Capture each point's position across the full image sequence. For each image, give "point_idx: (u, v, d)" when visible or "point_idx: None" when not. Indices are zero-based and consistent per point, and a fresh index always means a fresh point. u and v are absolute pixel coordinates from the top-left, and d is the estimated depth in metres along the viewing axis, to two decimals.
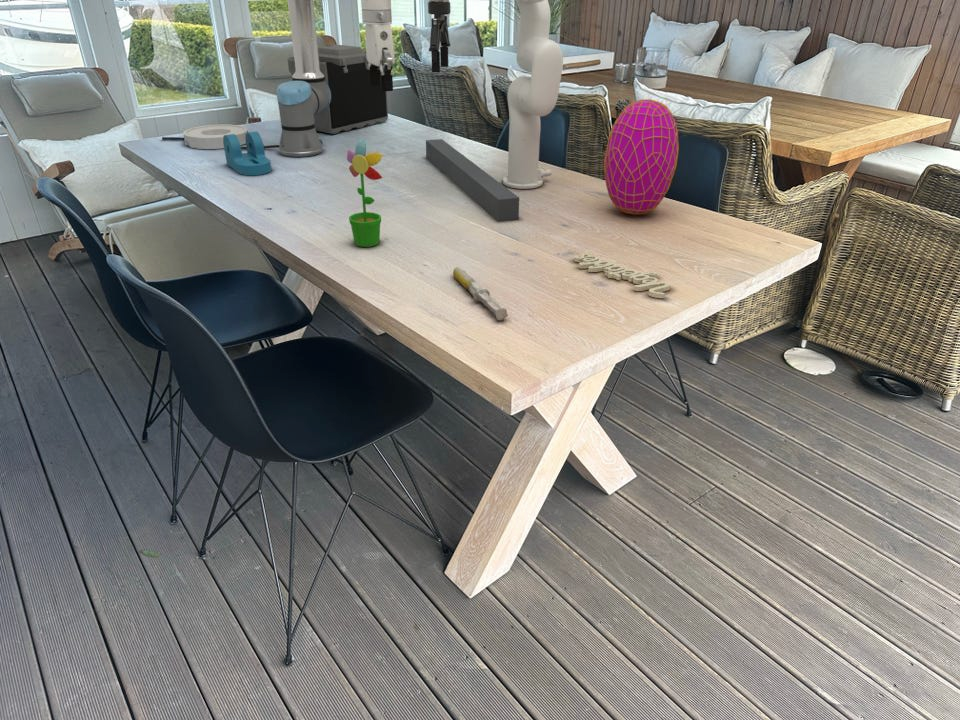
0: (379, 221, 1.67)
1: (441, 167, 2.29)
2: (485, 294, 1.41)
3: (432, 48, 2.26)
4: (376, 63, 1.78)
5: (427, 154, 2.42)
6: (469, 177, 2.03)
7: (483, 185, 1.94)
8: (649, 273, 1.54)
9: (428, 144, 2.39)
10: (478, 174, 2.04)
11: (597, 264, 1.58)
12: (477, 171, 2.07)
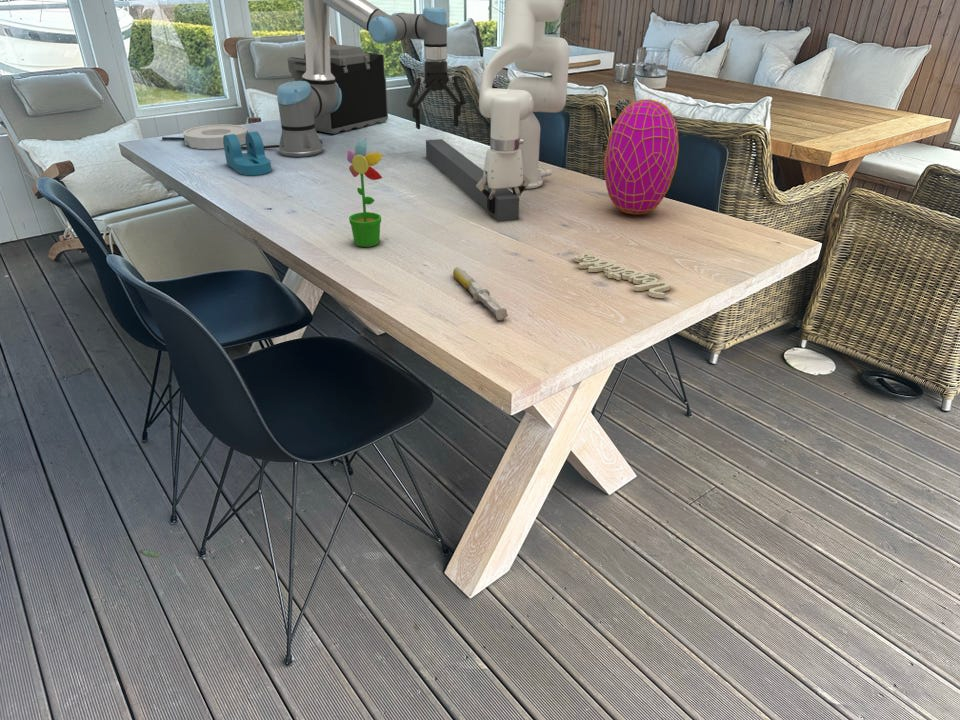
0: (379, 221, 1.67)
1: (441, 167, 2.29)
2: (485, 294, 1.41)
3: None
4: (518, 184, 1.86)
5: (427, 154, 2.42)
6: (469, 177, 2.03)
7: None
8: (649, 273, 1.54)
9: (428, 144, 2.39)
10: (478, 174, 2.04)
11: (597, 264, 1.58)
12: (477, 171, 2.07)
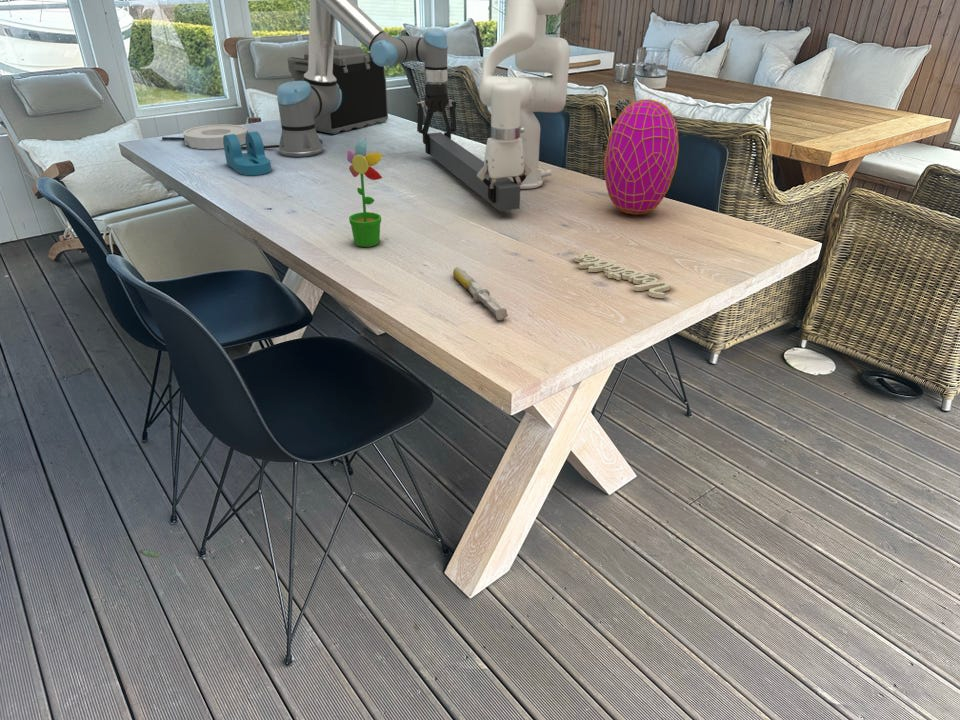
0: (379, 221, 1.67)
1: (440, 159, 2.28)
2: (485, 294, 1.41)
3: None
4: (519, 173, 1.85)
5: None
6: (469, 168, 2.02)
7: (484, 175, 1.94)
8: (649, 273, 1.54)
9: None
10: (478, 165, 2.03)
11: (597, 264, 1.58)
12: (477, 162, 2.06)
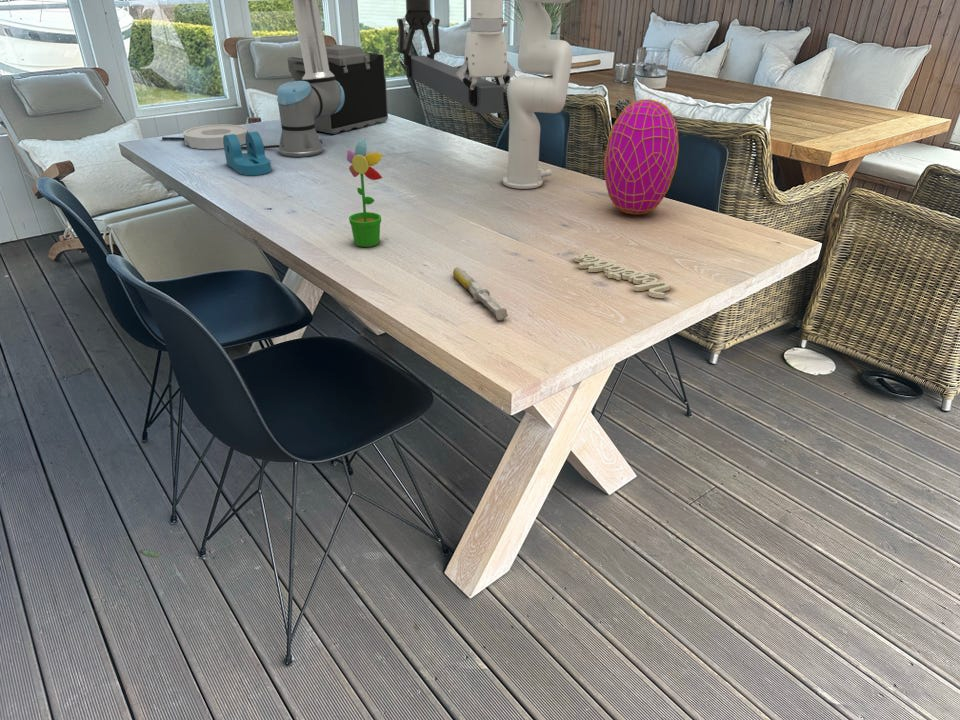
0: (379, 221, 1.67)
1: (422, 79, 2.13)
2: (485, 294, 1.41)
3: None
4: (502, 73, 1.70)
5: None
6: (450, 76, 1.87)
7: None
8: (649, 273, 1.54)
9: None
10: None
11: (597, 264, 1.58)
12: None
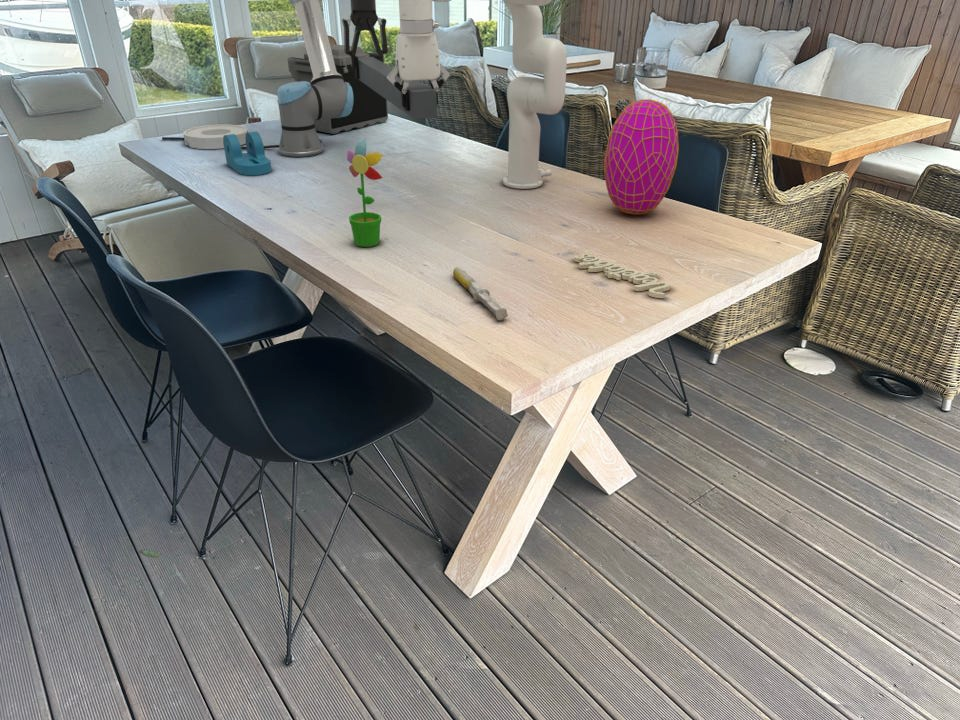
0: (379, 221, 1.67)
1: (367, 81, 2.07)
2: (485, 294, 1.41)
3: None
4: (435, 76, 1.64)
5: None
6: None
7: (400, 83, 1.73)
8: (649, 273, 1.54)
9: None
10: None
11: (597, 264, 1.58)
12: None
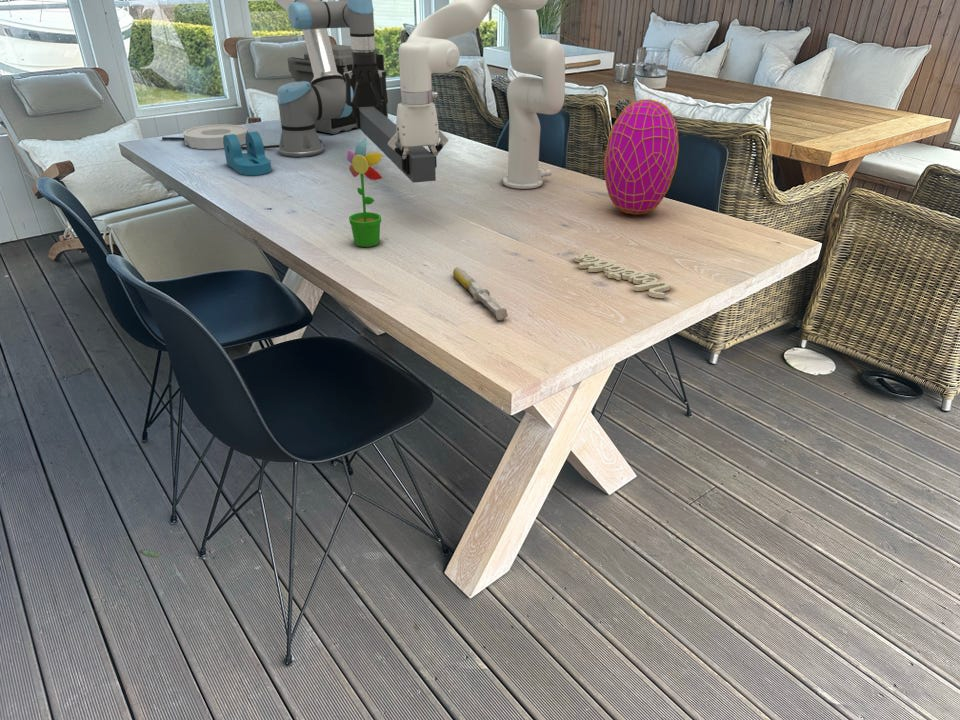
0: (379, 221, 1.67)
1: (368, 133, 2.15)
2: (485, 294, 1.41)
3: None
4: (434, 142, 1.71)
5: None
6: (389, 139, 1.89)
7: (400, 145, 1.80)
8: (649, 273, 1.54)
9: None
10: None
11: (597, 264, 1.58)
12: None
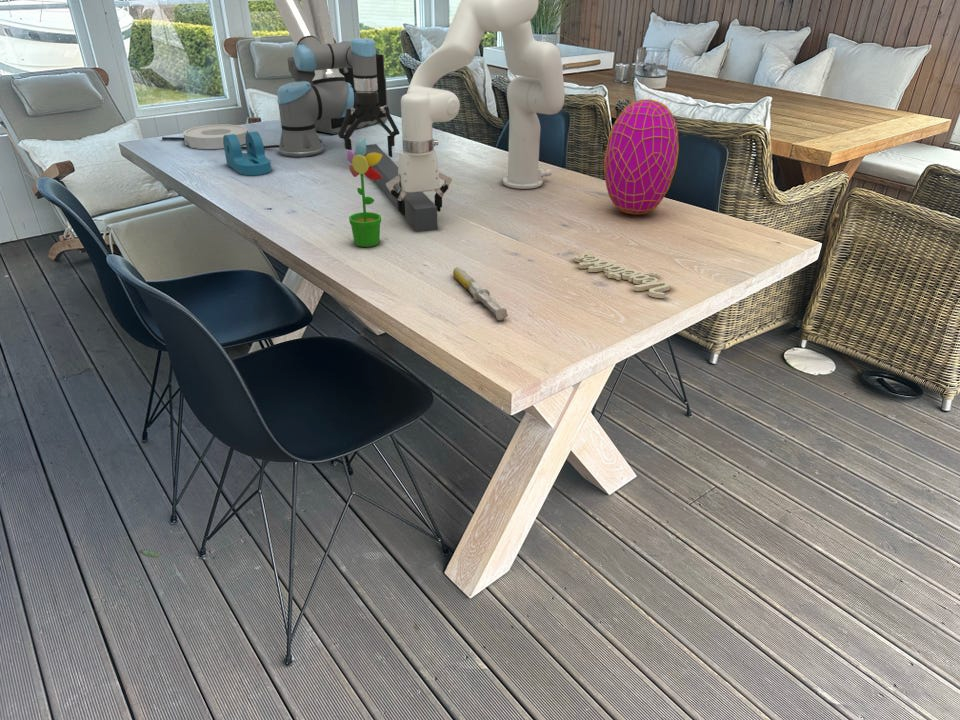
0: (379, 221, 1.67)
1: None
2: (485, 294, 1.41)
3: None
4: (434, 188, 1.77)
5: None
6: None
7: None
8: (649, 273, 1.54)
9: None
10: None
11: (597, 264, 1.58)
12: None
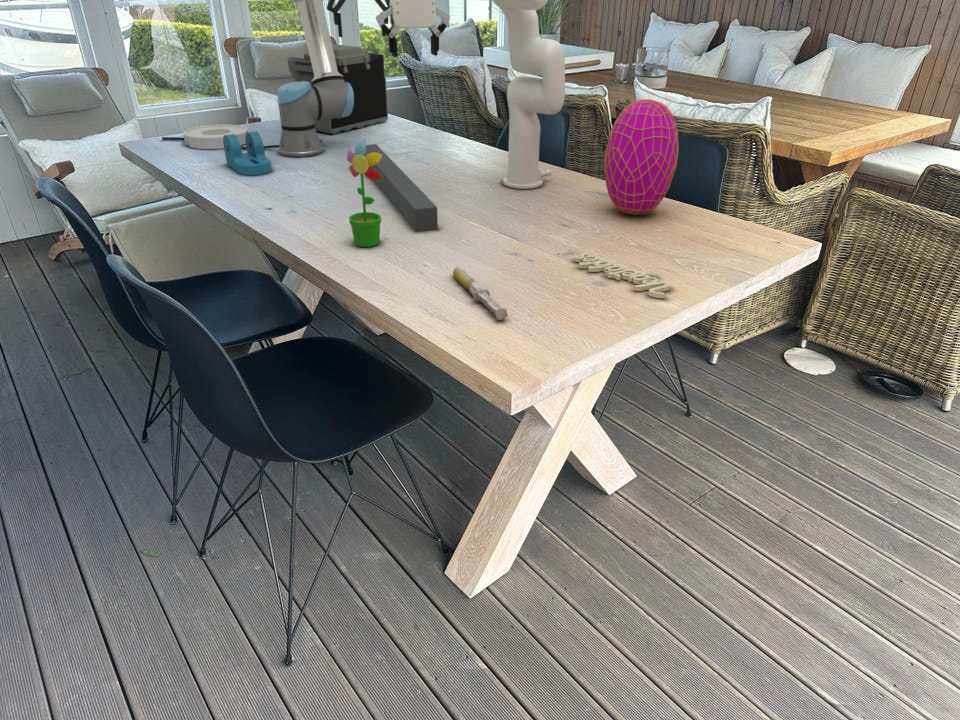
0: (379, 221, 1.67)
1: None
2: (485, 294, 1.41)
3: None
4: (430, 24, 1.58)
5: None
6: (392, 185, 1.95)
7: (403, 193, 1.87)
8: (649, 273, 1.54)
9: None
10: (401, 182, 1.96)
11: (597, 264, 1.58)
12: (402, 179, 1.99)
